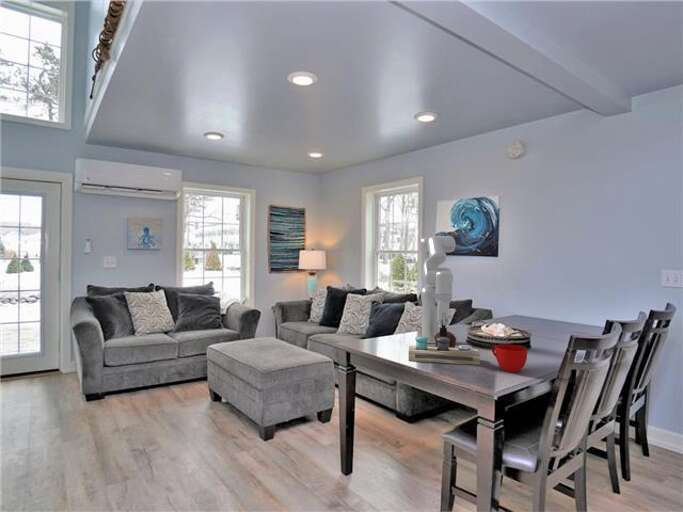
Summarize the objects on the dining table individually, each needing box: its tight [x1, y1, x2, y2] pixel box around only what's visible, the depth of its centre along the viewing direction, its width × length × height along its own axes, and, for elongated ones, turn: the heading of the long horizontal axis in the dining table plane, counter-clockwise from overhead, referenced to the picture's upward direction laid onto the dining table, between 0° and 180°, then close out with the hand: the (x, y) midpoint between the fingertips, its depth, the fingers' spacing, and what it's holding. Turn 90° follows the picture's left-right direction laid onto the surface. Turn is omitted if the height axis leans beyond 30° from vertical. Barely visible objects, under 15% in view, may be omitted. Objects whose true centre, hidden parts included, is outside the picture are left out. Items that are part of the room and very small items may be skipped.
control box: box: [408, 345, 481, 366], centre depth 199 cm, size 10×32×5 cm, turn 79°
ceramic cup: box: [491, 343, 528, 373], centre depth 184 cm, size 13×17×10 cm
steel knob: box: [457, 344, 473, 352], centre depth 197 cm, size 6×6×6 cm
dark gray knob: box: [437, 337, 450, 351], centre depth 199 cm, size 6×6×6 cm
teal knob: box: [414, 335, 428, 350], centre depth 201 cm, size 6×6×6 cm
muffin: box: [434, 330, 457, 348], centre depth 218 cm, size 12×11×10 cm
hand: (443, 336), depth 198 cm, fingers closed
